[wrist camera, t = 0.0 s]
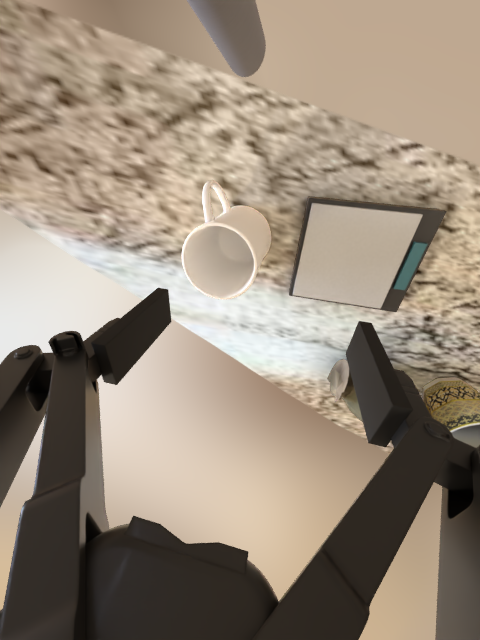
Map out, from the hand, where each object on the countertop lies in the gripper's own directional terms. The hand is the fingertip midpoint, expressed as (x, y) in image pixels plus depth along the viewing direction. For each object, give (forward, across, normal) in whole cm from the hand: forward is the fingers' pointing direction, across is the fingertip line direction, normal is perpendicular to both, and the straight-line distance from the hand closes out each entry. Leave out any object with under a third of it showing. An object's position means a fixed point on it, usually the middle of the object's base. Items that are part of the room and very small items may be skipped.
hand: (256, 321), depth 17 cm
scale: (+21, +10, 0) cm, 23 cm away
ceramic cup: (+21, +30, -21) cm, 42 cm away
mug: (+21, -6, +2) cm, 22 cm away
